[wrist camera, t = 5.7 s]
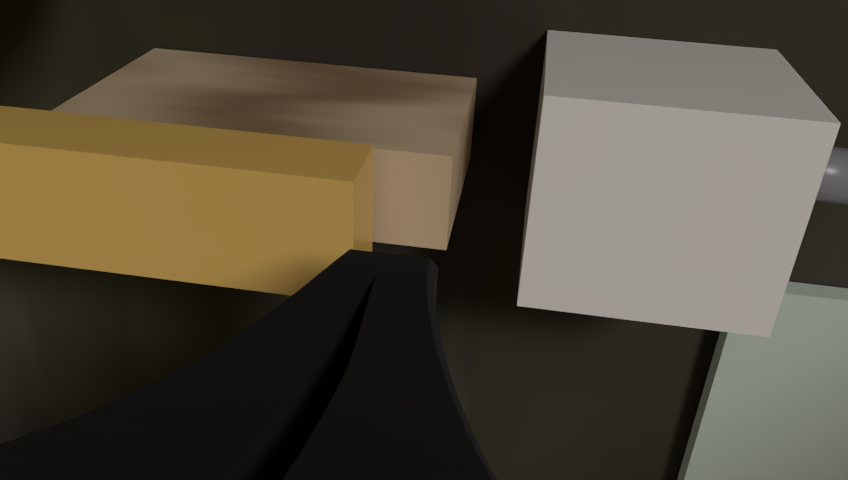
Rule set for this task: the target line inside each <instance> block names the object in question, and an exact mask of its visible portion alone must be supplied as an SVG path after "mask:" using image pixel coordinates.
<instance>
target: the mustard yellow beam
mask: <svg viewBox="0 0 848 480" xmlns="http://www.w3.org/2000/svg"><path fill="white" fill-rule="evenodd" d="M373 167H374V145H371V144H362V143H352V142H343V141H333V140H324V139H314V138H304V137H295V136H285V135H276V134H266V133H257V132H247V131H237V130H228V129H218V128H209V127H199V126H190V125H180V124H171V123H161V122H151V121H142V120H132V119H123V118H113V117H104V116H94V115H84V114H75V113H65V112H56V111H46V110H37V109H27V108H17V107H8V106H0V258H2V259H10V260H17V261H25V262H33V263H41V264H49V265H57V266H64V267H72V268H80V269H88V270H96V271H103V272H111V273H119V274H127V275H135V276H143V277H150V278H158V279H166V280H174V281H182V282H190V283H197V284H205V285H213V286H221V287H229V288H236V289H244V290H252V291H260V292H268V293H276V294H283V295H291V296H292V295H293V294H294V293H296V292H297V291H298V290H299V289H301V288H302V287H303V286H304V285H306V284H307V283H308V282H309V281H311V280H312V279H313V278H314V277H316V276H317V275H318V274H319V273H320V272H322V271H323V270H324V269H325V268H327V267H328V266H329V265H330V264H332V263H333V262H334V261H335V260H337V259H338V258H339V257H341V256H342V255H343V254H344V253H346V252H347V251H348V250H350V249H354V250H362V251H370V252H372V231H373Z"/></svg>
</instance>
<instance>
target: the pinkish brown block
mask: <svg viewBox="0 0 848 480" xmlns="http://www.w3.org/2000/svg"><path fill="white" fill-rule="evenodd" d="M476 84H477V78H469V77H458V76H447V75H437V74H426V73H415V72H405V71H394V70H383V69H373V68H362V67H351V66H340V65H330V64H319V63H308V62H298V61H287V60H276V59H266V58H255V57H244V56H234V55H223V54H212V53H201V52H191V51H180V50H169V49H159V48H154V49H152V50H151V51H149V52H148V53H146V54H144V55H143V56H141V57H139V58H138V59H136V60H134V61H133V62H131V63H129V64H128V65H126V66H124V67H123V68H121V69H119V70H118V71H116V72H114V73H113V74H111V75H109V76H108V77H106V78H104V79H103V80H101V81H100V82H98V83H96V84H95V85H93V86H91V87H90V88H88V89H86V90H85V91H83V92H81V93H80V94H78V95H76V96H75V97H73V98H71V99H70V100H68V101H66V102H65V103H63V104H61V105H60V106H58V107H56V108H55V109H53V110H52V111H56V112H65V113H75V114H84V115H94V116H104V117H113V118H123V119H132V120H142V121H151V122H161V123H171V124H180V125H190V126H199V127H209V128H218V129H228V130H237V131H247V132H257V133H266V134H276V135H285V136H295V137H304V138H314V139H324V140H333V141H343V142H352V143H362V144H371V145H374V167H373V231H372V242H380V243H389V244H397V245H406V246H414V247H423V248H431V249H439V250H446V249H447V246H448V242H449V238H450V234H451V230H452V226H453V222H454V218H455V215H456V211H457V207H458V203H459V199H460V195H461V191H462V188H463V184H464V180H465V176H466V172H467V168H468V164H469V160H470V157H471V145H472V133H473V121H474V109H475V97H476Z"/></svg>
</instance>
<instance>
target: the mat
mask: <svg viewBox="0 0 848 480" xmlns="http://www.w3.org/2000/svg"><path fill="white" fill-rule="evenodd" d="M677 480H848V288H839V287H831V286H822V285H814V284H805V283H797V282H788V284H787V287H786V290H785V293H784V296H783V299H782V302H781V305H780V308H779V311H778V314H777V317H776V320H775V323H774V326H773V329H772V332H771V335H770V337H762V336H754V335H746V334H738V333H730V332H722V331H720V334H719V337H718V341H717V344H716V347H715V351H714V354H713V358H712V361H711V365H710V368H709V371H708V375H707V378H706V382H705V385H704V389H703V392H702V395H701V399H700V402H699V406H698V409H697V413H696V416H695V420H694V423H693V426H692V430H691V433H690V437H689V440H688V444H687V447H686V450H685V454H684V457H683V461H682V464H681V468H680V471H679V474H678V478H677Z"/></svg>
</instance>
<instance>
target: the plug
mask: <svg viewBox="0 0 848 480" xmlns="http://www.w3.org/2000/svg"><path fill="white" fill-rule="evenodd" d="M840 124H841V123H840V122H839V121H838V120H837V118H836V117H835V116H834V115H833V114H832V113H831V112H830V110H829V109H828V108H827V107H826V106H825V105H824V103H823V102H822V101H821V100H820V99H819V98H818V97H817V95H816V94H815V93H814V92H813V91H812V90H811V88H810V87H809V86H808V85H807V84H806V83H805V81H804V80H803V79H802V78H801V77H800V76H799V75H798V73H797V72H796V71H795V70H794V69H793V68H792V66H791V65H790V64H789V63H788V62H787V61H786V60H785V58H784V57H783V56H782V55H781V54H780V53H779V51H778V50H773V49H762V48H750V47H738V46H727V45H715V44H703V43H692V42H680V41H668V40H657V39H645V38H633V37H622V36H610V35H598V34H587V33H575V32H564V31H552V30H548V32H547V40H546V48H545V56H544V64H543V72H542V80H541V88H540V96H539V104H538V112H537V120H536V128H535V136H534V144H533V152H532V159H531V167H530V175H529V183H528V191H527V199H526V208H525V219H524V230H523V241H522V253H521V264H520V275H519V287H518V298H517V306H522V307H530V308H538V309H546V310H554V311H562V312H570V313H578V314H586V315H594V316H602V317H610V318H618V319H626V320H634V321H642V322H650V323H658V324H666V325H674V326H682V327H690V328H698V329H706V330H714V331H722V332H730V333H738V334H746V335H754V336H762V337H770V335H771V332H772V329H773V326H774V323H775V320H776V317H777V314H778V311H779V308H780V305H781V302H782V299H783V296H784V293H785V290H786V287H787V284H788V281H789V278H790V275H791V272H792V269H793V266H794V263H795V260H796V257H797V254H798V251H799V248H800V245H801V242H802V239H803V236H804V233H805V230H806V227H807V224H808V221H809V218H810V215H811V212H812V209H813V206H814V203H815V201H819V202H828V203H838V204H847V205H848V148H840V147H833V145H834V142H835V139H836V136H837V133H838V130H839V127H840Z"/></svg>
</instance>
